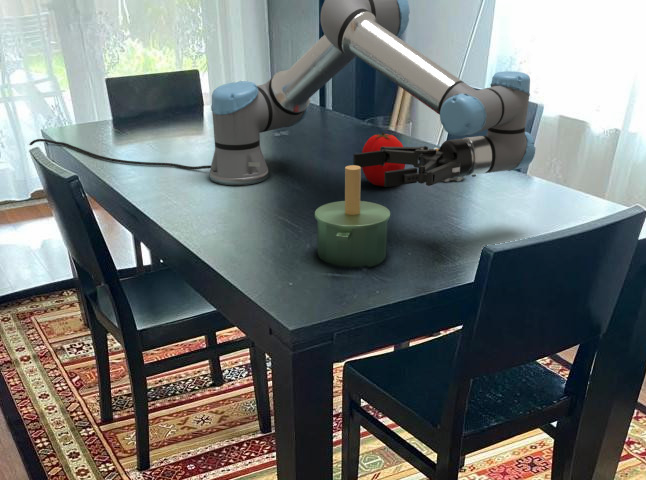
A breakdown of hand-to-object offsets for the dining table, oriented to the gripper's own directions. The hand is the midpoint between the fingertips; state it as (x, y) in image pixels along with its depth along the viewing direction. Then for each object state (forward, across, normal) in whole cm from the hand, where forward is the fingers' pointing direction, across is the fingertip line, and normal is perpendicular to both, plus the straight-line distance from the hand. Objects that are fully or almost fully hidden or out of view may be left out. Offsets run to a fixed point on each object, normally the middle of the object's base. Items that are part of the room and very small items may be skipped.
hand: (368, 169), depth 147 cm
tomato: (-24, +40, -17) cm, 49 cm away
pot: (+4, 0, -17) cm, 18 cm away
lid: (+3, 0, -9) cm, 9 cm away
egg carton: (-42, +40, -17) cm, 60 cm away
